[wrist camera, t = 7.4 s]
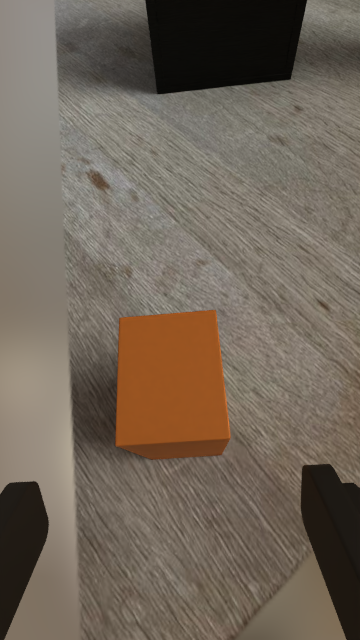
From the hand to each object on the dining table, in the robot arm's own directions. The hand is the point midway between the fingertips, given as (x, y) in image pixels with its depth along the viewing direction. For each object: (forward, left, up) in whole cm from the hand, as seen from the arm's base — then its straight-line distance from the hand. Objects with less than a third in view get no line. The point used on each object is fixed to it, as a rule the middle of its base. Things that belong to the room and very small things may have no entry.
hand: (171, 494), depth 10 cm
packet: (0, +4, -9) cm, 10 cm away
